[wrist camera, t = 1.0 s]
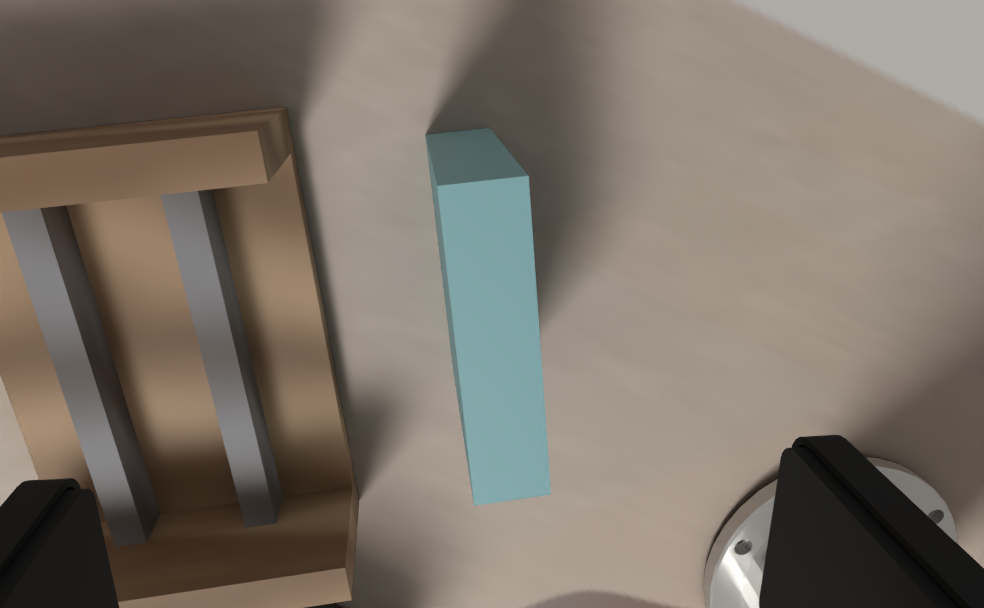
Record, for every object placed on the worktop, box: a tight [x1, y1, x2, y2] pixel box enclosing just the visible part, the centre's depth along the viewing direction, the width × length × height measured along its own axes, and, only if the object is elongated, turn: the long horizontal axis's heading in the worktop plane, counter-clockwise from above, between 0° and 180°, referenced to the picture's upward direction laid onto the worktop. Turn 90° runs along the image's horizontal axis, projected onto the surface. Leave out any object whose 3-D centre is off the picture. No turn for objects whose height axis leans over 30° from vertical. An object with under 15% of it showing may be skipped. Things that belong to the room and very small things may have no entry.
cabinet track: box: [0, 107, 359, 608], centre depth 26 cm, size 17×12×6 cm
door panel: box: [426, 128, 551, 506], centre depth 25 cm, size 10×2×9 cm, turn 5°
